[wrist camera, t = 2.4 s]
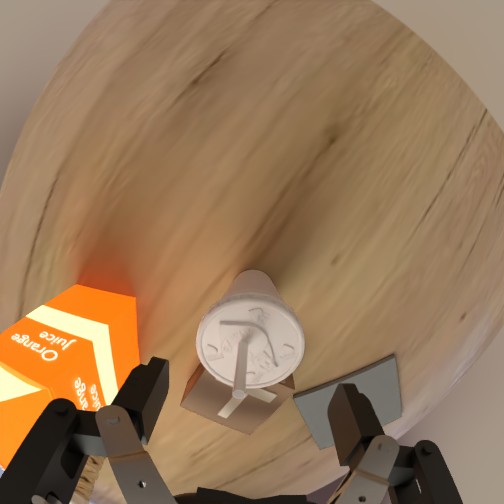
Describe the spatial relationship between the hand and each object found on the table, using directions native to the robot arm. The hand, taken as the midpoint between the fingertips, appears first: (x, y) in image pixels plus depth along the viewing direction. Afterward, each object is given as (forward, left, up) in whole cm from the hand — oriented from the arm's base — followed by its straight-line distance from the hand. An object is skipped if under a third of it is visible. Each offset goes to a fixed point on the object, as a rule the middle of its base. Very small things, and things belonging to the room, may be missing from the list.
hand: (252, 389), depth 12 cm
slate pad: (-20, -5, -13) cm, 24 cm away
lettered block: (-8, +6, -13) cm, 17 cm away
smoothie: (0, 0, -13) cm, 13 cm away
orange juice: (+1, +17, -13) cm, 21 cm away
